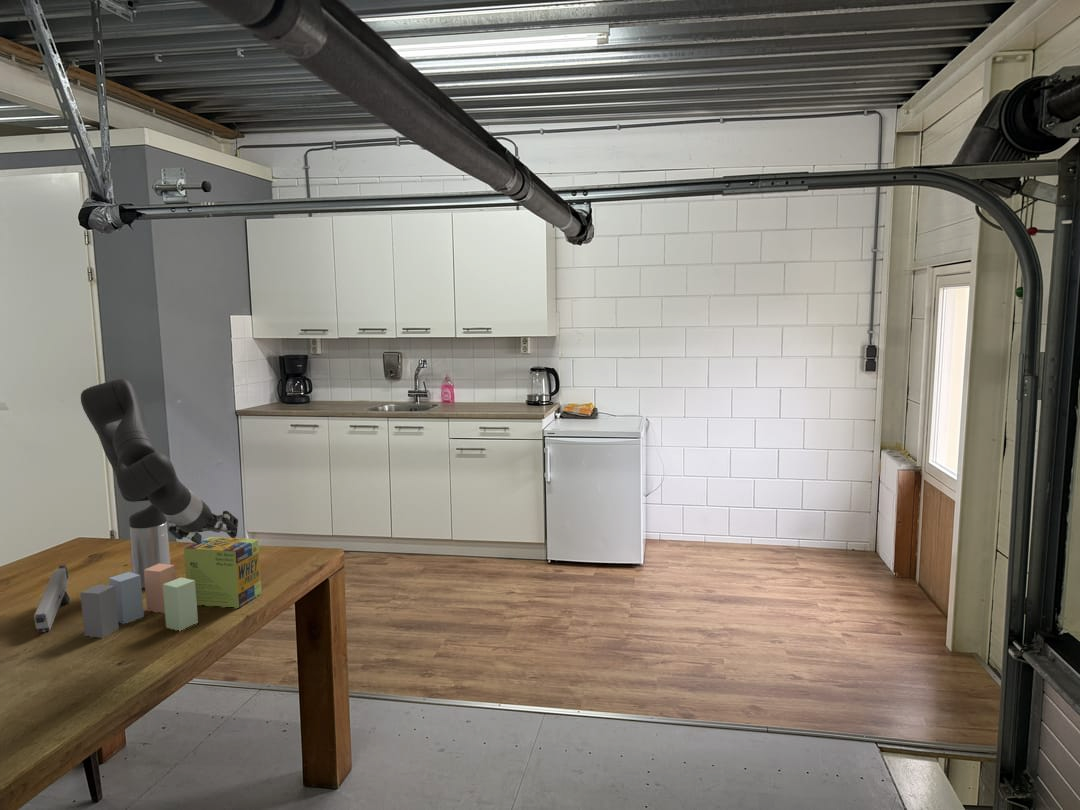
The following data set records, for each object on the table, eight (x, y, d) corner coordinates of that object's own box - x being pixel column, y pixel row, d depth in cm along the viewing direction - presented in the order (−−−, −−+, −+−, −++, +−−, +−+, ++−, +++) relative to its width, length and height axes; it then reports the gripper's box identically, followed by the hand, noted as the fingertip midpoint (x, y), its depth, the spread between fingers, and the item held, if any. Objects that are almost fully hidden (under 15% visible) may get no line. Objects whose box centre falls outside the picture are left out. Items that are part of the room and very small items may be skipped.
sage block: (166, 627, 174) (162, 584, 173) (184, 619, 178) (181, 577, 177) (180, 631, 172) (176, 587, 170) (198, 623, 176) (194, 580, 175)
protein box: (239, 609, 185) (235, 551, 183) (187, 605, 188) (182, 548, 186) (262, 593, 195) (259, 538, 193) (212, 590, 198) (208, 535, 196)
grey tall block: (84, 636, 169) (80, 592, 168) (101, 627, 174) (97, 584, 173) (102, 638, 168) (98, 593, 167) (119, 629, 173) (115, 585, 172)
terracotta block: (147, 611, 184) (143, 569, 183) (162, 603, 189) (159, 563, 187) (163, 613, 183) (159, 571, 181) (177, 605, 187) (174, 565, 186)
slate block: (112, 620, 179) (108, 578, 177) (132, 613, 183) (129, 571, 181) (123, 624, 176) (120, 581, 175) (143, 617, 180) (140, 575, 179)
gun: (73, 591, 195) (68, 559, 191) (51, 649, 173) (45, 614, 169) (62, 593, 194) (57, 561, 190) (39, 651, 172) (32, 616, 169)
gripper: (218, 489, 163) (247, 518, 176) (156, 499, 163) (190, 528, 176) (215, 519, 159) (245, 546, 172) (151, 530, 158) (186, 556, 172)
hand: (217, 537), depth 174 cm, fingers open, 8 cm apart
